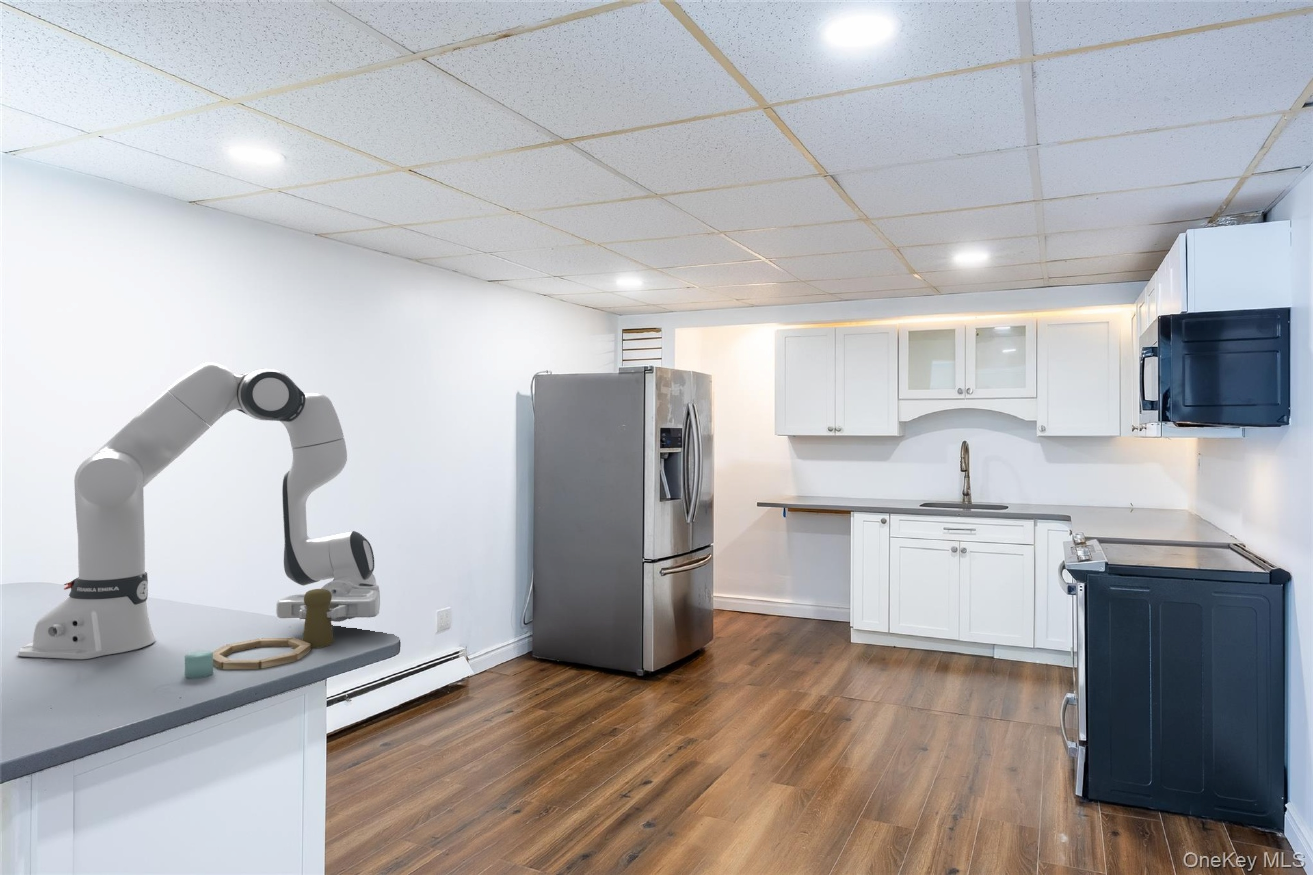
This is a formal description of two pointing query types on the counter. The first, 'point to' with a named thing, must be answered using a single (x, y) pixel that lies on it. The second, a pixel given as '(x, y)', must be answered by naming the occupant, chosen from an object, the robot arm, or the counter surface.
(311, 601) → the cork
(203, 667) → the loose bead
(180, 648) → the counter surface
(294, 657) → the wooden segmented ring
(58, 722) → the counter surface
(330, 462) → the robot arm
